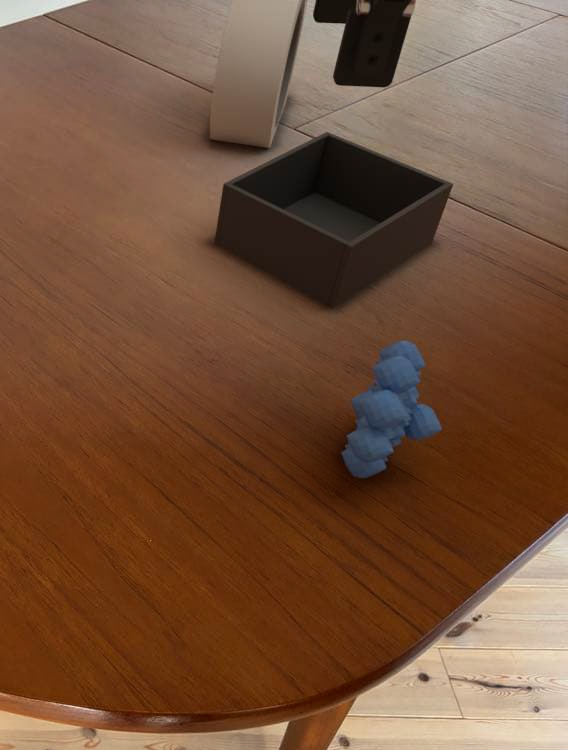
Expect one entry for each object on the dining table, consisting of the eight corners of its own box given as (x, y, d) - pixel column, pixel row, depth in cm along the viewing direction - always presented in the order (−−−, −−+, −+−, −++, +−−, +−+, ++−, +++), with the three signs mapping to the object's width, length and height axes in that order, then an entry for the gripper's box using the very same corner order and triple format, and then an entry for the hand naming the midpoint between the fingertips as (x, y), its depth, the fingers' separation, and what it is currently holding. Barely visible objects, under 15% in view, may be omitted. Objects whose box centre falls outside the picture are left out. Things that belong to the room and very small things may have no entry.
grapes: (401, 535, 64) (455, 421, 55) (311, 501, 66) (349, 387, 58) (432, 436, 71) (483, 322, 63) (350, 409, 73) (388, 296, 65)
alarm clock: (264, 164, 104) (297, -7, 91) (203, 155, 106) (226, -14, 93) (289, 93, 119) (320, -64, 105) (235, 86, 121) (259, -70, 107)
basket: (430, 247, 91) (453, 183, 86) (332, 312, 83) (351, 246, 78) (312, 192, 100) (327, 131, 94) (213, 246, 92) (223, 183, 87)
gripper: (585, -295, 34) (443, 117, 46) (475, -327, 46) (386, 4, 58) (390, -296, 35) (300, 110, 47) (333, -327, 47) (273, 0, 59)
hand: (348, 51), depth 52 cm, fingers open, 9 cm apart
